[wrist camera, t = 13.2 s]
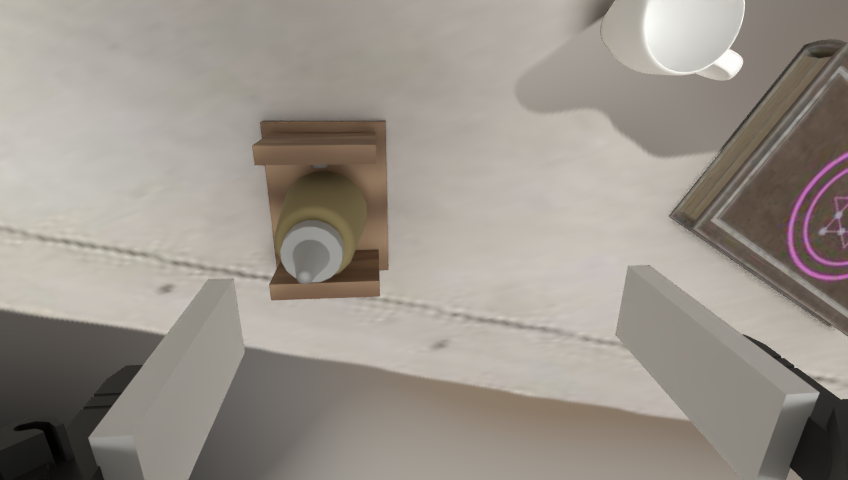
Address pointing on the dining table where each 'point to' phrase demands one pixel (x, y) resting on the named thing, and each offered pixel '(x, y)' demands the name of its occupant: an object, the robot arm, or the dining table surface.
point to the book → (786, 186)
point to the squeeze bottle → (320, 226)
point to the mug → (675, 36)
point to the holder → (343, 154)
